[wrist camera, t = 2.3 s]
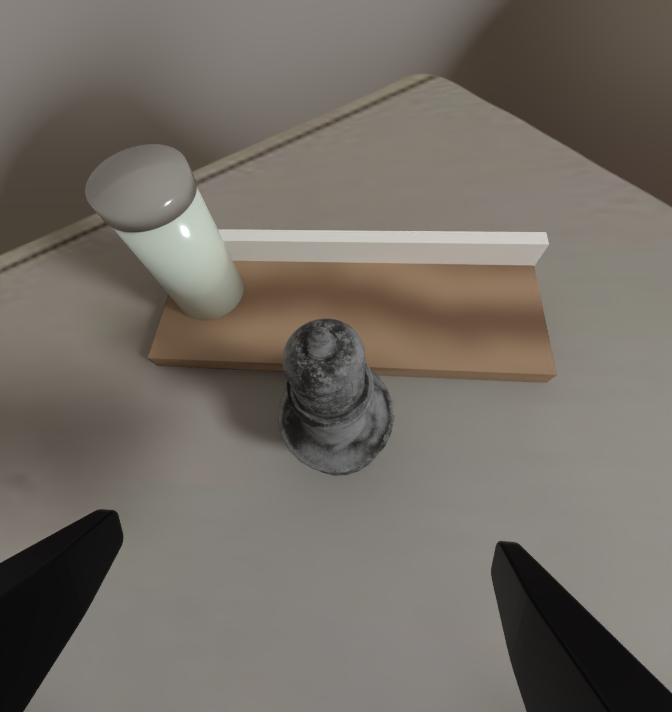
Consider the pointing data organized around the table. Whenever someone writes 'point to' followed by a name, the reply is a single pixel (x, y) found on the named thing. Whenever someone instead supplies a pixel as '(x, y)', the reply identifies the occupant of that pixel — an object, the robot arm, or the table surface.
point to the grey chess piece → (332, 400)
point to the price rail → (386, 246)
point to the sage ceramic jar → (167, 227)
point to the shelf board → (376, 319)
